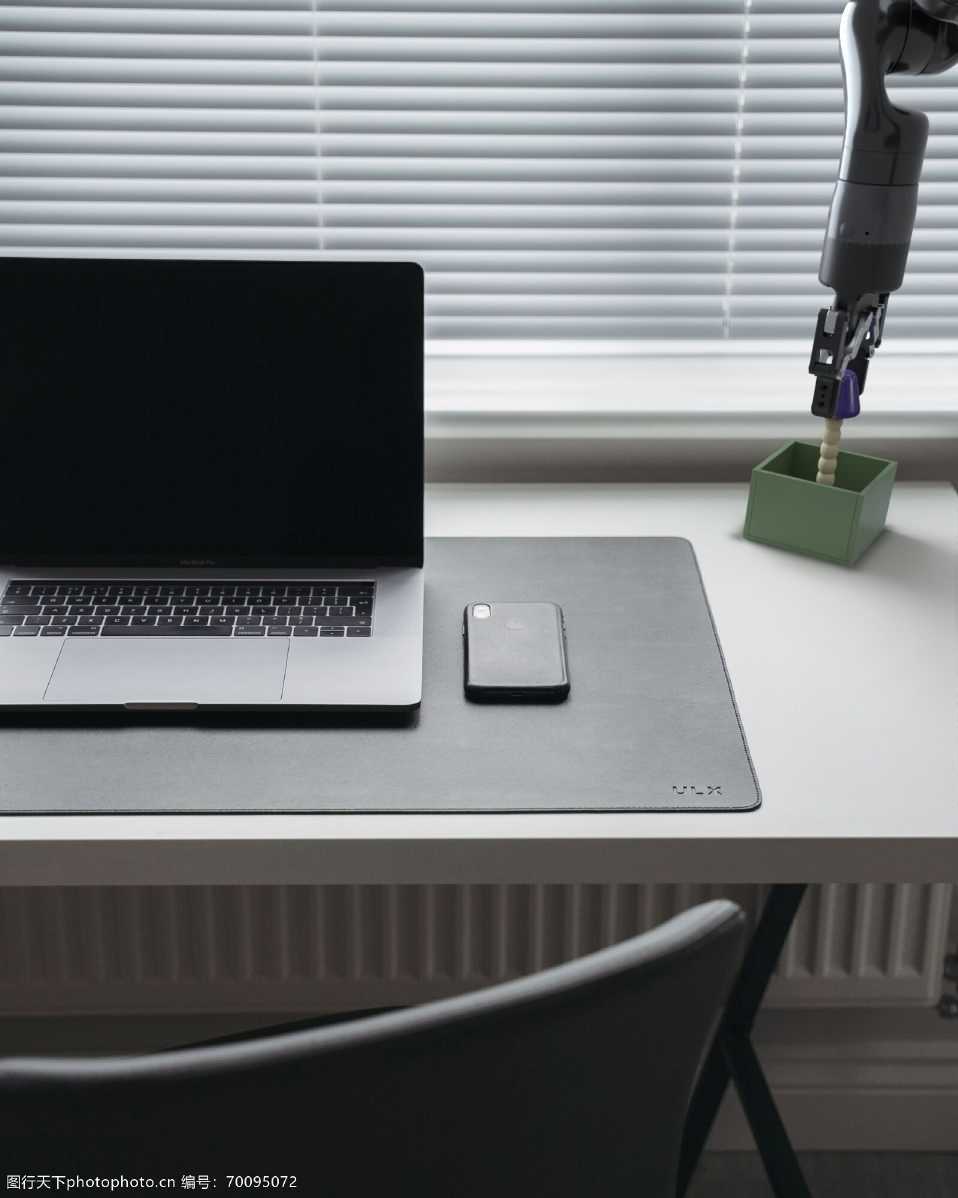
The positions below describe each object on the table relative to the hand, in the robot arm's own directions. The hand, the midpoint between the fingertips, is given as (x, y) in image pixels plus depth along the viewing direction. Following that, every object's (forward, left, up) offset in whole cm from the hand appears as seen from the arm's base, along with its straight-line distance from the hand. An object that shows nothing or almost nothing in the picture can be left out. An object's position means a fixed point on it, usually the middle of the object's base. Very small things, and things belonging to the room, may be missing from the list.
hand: (837, 404), depth 108 cm
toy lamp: (0, 0, -13) cm, 13 cm away
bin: (0, 0, -14) cm, 14 cm away
